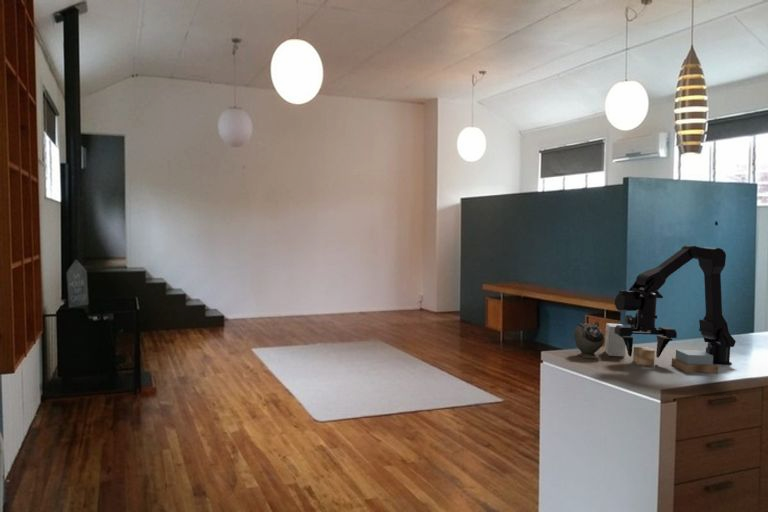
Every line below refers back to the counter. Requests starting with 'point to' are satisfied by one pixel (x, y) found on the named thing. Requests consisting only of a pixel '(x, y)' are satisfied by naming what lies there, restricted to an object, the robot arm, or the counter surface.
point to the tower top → (694, 357)
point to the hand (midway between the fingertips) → (643, 356)
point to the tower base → (695, 367)
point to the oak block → (643, 355)
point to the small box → (614, 341)
